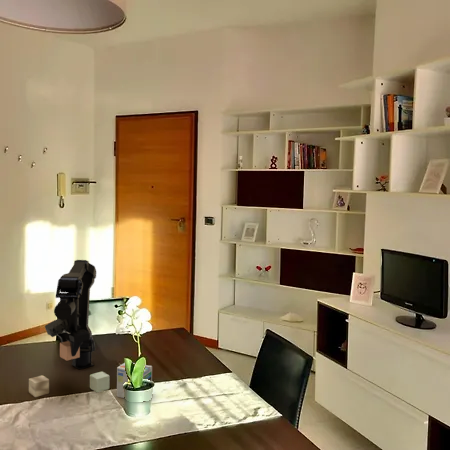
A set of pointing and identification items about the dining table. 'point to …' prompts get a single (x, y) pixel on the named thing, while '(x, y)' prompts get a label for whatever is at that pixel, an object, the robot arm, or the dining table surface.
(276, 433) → the dining table surface
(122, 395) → the light bulb box
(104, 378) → the sage block
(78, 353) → the terracotta block
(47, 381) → the birch block
